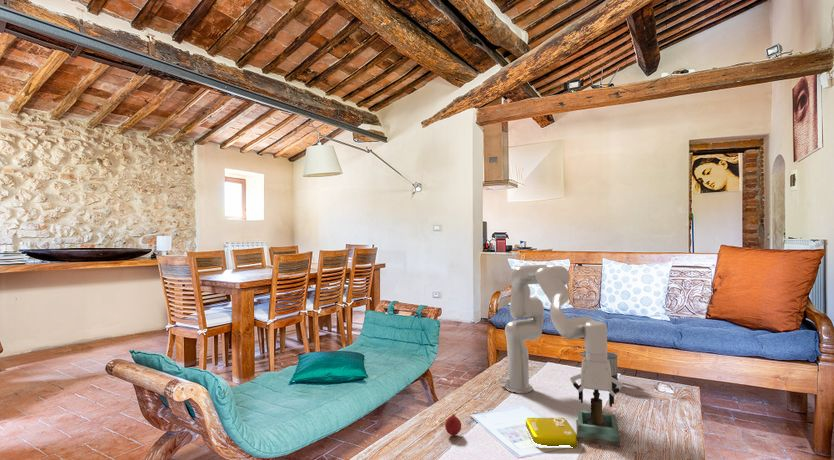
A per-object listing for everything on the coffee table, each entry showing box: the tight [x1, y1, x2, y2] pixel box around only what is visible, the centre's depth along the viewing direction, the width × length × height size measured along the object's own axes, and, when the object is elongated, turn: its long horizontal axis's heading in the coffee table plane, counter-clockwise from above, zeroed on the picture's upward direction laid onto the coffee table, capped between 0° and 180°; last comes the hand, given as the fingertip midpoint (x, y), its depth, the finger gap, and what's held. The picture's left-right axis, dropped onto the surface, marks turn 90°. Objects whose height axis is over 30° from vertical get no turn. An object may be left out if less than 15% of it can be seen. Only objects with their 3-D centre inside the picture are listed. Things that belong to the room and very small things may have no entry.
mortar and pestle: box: [587, 390, 607, 427], centre depth 151 cm, size 7×6×18 cm
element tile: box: [525, 417, 578, 449], centre depth 150 cm, size 15×15×5 cm
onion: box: [444, 413, 462, 437], centre depth 152 cm, size 6×6×8 cm
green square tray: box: [575, 409, 622, 449], centre depth 151 cm, size 14×14×6 cm
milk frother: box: [607, 351, 619, 389], centre depth 201 cm, size 14×16×15 cm
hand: (596, 403), depth 151 cm, fingers open, 9 cm apart
